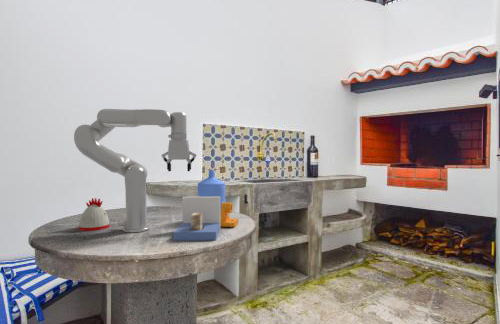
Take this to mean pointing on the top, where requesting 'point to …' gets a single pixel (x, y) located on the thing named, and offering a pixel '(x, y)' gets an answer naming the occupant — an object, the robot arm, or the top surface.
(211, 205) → the blue base grey panel
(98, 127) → the robot arm
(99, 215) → the cream red beanie hat
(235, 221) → the bracket
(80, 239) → the top surface
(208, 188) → the water jug
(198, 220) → the tan wooden pillar
